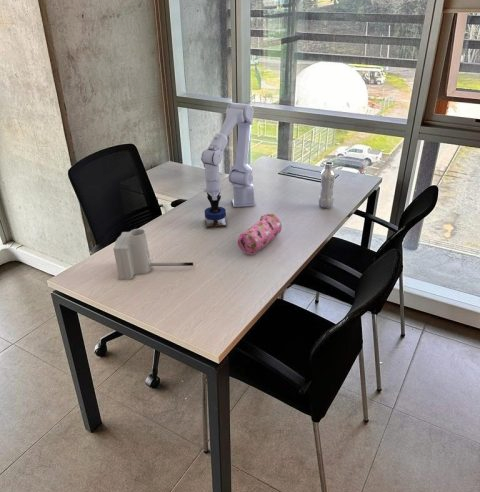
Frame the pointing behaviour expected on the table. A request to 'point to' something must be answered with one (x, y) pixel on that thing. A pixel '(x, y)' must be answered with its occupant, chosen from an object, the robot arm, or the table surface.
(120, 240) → the electronic device
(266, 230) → the pencil case
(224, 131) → the robot arm
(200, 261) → the table surface
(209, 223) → the stand
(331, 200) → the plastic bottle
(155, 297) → the table surface
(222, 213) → the ring
